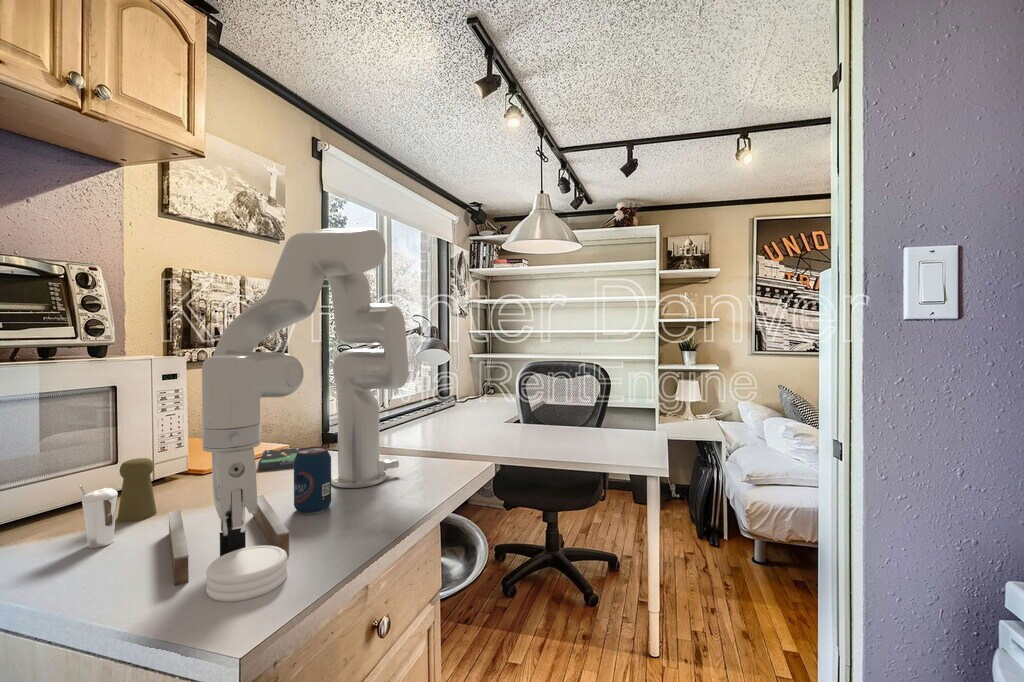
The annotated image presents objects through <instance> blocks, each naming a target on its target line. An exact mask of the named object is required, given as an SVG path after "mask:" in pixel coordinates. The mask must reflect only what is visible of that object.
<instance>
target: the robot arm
mask: <svg viewBox="0 0 1024 682" xmlns="http://www.w3.org/2000/svg"><path fill="white" fill-rule="evenodd" d="M386 249H387V245H386V243H385V238H384V237H383V235H382V234H381V232H380V231H378V230H377V229H376V228H373V227H349V228H348V227H347V228H346V227H345V228H344V227H341V228H340V227H338V228H337V227H335V228H332V227H331V228H321V229H315V230H312V231H304V232H299V233H295V234H293V235H292V236H290V237H289V238H288V239H287V241H286V243H285V244H284V247H283V249H282V252H281V254H280V257H279V260H278V262H277V264H276V267H275V269H274V272H273V275H272V277H271V280H270V282H269V284H268V287H267V289H266V292H265V294H264V295H263V296H262V297H261V298H259V299H258V300H255V302H253V303H252V304H250V305H249V306H248V307H247V308H246V309H244V310H243V311H242V312H241V313H240V314H239V315H237V316H236V317H235V318H234V319H233V320H232V321H231V322H230V323H229V324H228V325H227V326H226V328H225V329H224V330H223V332H222V334H221V336H220V338H219V340H218V342H217V344H216V346H215V349H214V352H213V355H212V356H209V357H207V358H206V359H204V361H203V362H202V366H201V367H202V369H201V393H202V394H201V397H202V398H201V404H202V405H201V407H202V408H201V409H202V410H201V412H202V413H201V415H202V416H201V417H202V427H201V428H202V434H201V435H202V437H201V438H202V451H203V452H206V453H207V452H208V453H211V474H212V475H211V477H212V480H211V481H212V494H213V502H214V508H215V510H216V512H217V515H218V518H219V519H220V532H219V557H221V556H222V555H225V554H227V553H229V552H232V551H235V550H238V549H242V548H247V547H246V545H247V544H246V540H247V539H246V532H247V531H246V529H245V527H246V526H245V525H246V522H245V521H246V520H245V519H246V510H247V511H248V513H249V514H251V515H252V516H253V515H255V514H256V513H257V511H258V505H257V496H258V484H257V467H256V454H255V449H254V448H257V447H259V446H260V445H261V399H263V398H270V399H271V398H272V399H273V398H277V399H278V398H284V397H288V396H290V395H292V394H294V393H295V392H296V391H297V390H298V389H299V388H300V386H301V385H302V383H303V379H304V368H303V365H302V363H301V361H300V360H299V359H298V358H296V357H295V356H293V355H291V354H289V353H286V352H275V351H274V352H273V351H270V352H269V351H268V352H266V351H265V352H264V351H254V350H255V348H256V347H257V346H259V344H260V343H261V342H262V341H263V340H264V339H265V338H267V337H269V336H270V335H272V334H274V333H276V332H278V331H280V330H282V329H285V328H288V327H289V326H293V325H294V324H296V323H299V322H301V321H303V320H305V319H307V318H309V317H310V316H312V315H313V314H314V312H315V309H316V306H317V303H318V301H319V300H318V299H319V297H320V294H321V291H322V288H323V285H324V282H325V279H326V281H327V282H328V284H329V288H330V292H331V293H330V294H331V300H332V308H333V309H332V310H333V318H334V328H335V332H336V335H337V338H338V340H339V341H341V343H344V344H349V345H380V346H381V347H382V349H381V348H379V349H378V348H352V349H351V348H350V349H346V350H343V351H341V352H339V354H337V355H336V356H335V358H334V360H333V363H332V373H333V378H334V384H335V390H336V398H337V473H335V474H334V475H333V476H331V486H334V487H336V488H342V489H343V488H345V489H358V488H359V489H361V488H367V487H372V486H375V485H378V484H381V483H383V482H384V481H385V480H386V479H387V473H386V471H387V470H389V469H397V468H399V466H400V462H399V460H398V459H393V460H390V459H384V460H383V459H382V458H380V405H379V403H378V400H377V398H376V397H375V395H374V393H373V392H372V391H371V390H396V389H400V388H402V387H404V386H405V385H406V384H407V381H408V378H409V356H408V340H407V330H406V329H407V328H406V322H405V318H404V317H405V316H404V315H403V312H402V310H401V309H400V307H398V306H397V305H395V304H392V303H373V302H372V297H371V288H370V282H369V280H368V278H367V276H366V273H365V272H369V271H371V270H374V269H376V268H378V267H379V266H381V264H382V263H383V262H384V259H385V257H386V252H387V251H386Z"/></svg>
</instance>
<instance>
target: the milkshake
mask: <svg viewBox="0 0 1024 682" xmlns="http://www.w3.org/2000/svg"><path fill="white" fill-rule="evenodd" d="M79 488H80V491H81V492H82V498H81V504H82V511H83V519H84V527H85V535H86V543H87V544H86V545H87V548H89V549H99V548H102V547H106V546H108V545H111V544H112V543H113V542H114V539H115V530H116V529H115V528H116V515H117V513H116V512H117V504H118V491H117V490H115V489H114V488H111V487H103V488H100V489H96V490H93V491H90V492H89V493H86V492H85V489H84V487H83V485H82V484H80V485H79Z"/></svg>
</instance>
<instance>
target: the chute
mask: <svg viewBox="0 0 1024 682" xmlns="http://www.w3.org/2000/svg"><path fill="white" fill-rule="evenodd" d="M257 505H258V511H257V513H256V514H255V515H252V516H253V518H254V521H255V522H256V524H257V525H258V527H259V529H260V530H261V532H262V534H263V536H264V537H265V540H266V541H267V542H268V544H269V546H276V547H279V548H281V549H283V550H284V551H286V553H287V557H289V556H290V530H288V528H287V526H286V525H285V524H284V522H283V521H282V519H280V517H279V516H278V514H277V513H276V511H275V509H274V508H273V507H272V506H271V505H270V503H269V501H267V499H266V497H265V496H264V495H263V494H261V495H257ZM181 511H182V510H181V509H179V510H174V511H169V512H168V535H169V547H170V553H171V554H170V555H171V564H172V572H173V580H174V581H173V582H174V586H179V585H181V584H185V583H189V557H190V555H189V549H188V543H187V539H186V533H185V528H184V522H183V516H182V512H181Z"/></svg>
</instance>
